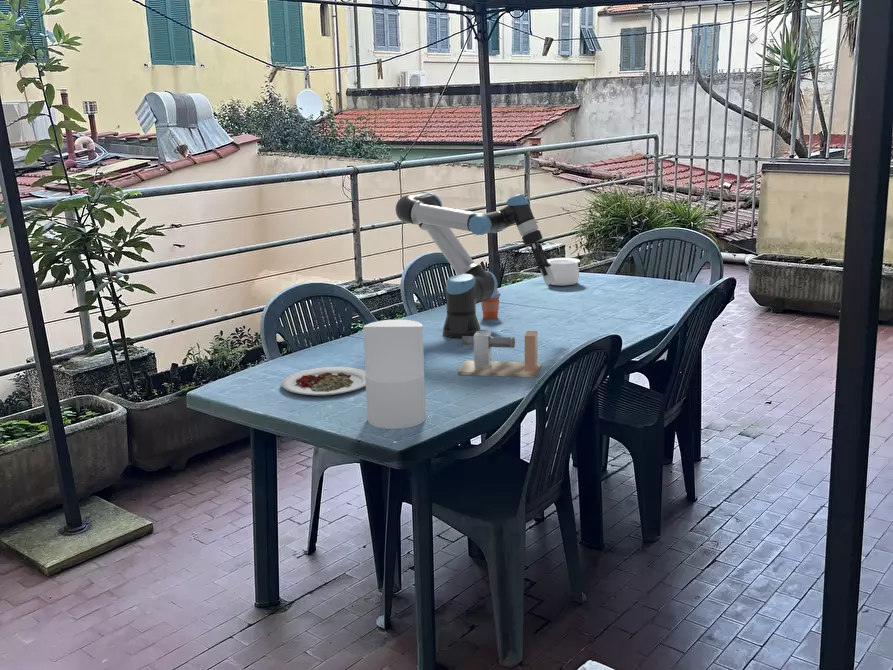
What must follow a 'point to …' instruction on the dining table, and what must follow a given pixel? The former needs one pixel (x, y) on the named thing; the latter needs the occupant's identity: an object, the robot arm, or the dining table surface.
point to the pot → (564, 270)
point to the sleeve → (482, 350)
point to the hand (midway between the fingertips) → (551, 283)
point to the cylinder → (394, 373)
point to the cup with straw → (491, 306)
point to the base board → (499, 369)
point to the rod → (491, 341)
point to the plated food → (325, 381)
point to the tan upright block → (531, 350)
